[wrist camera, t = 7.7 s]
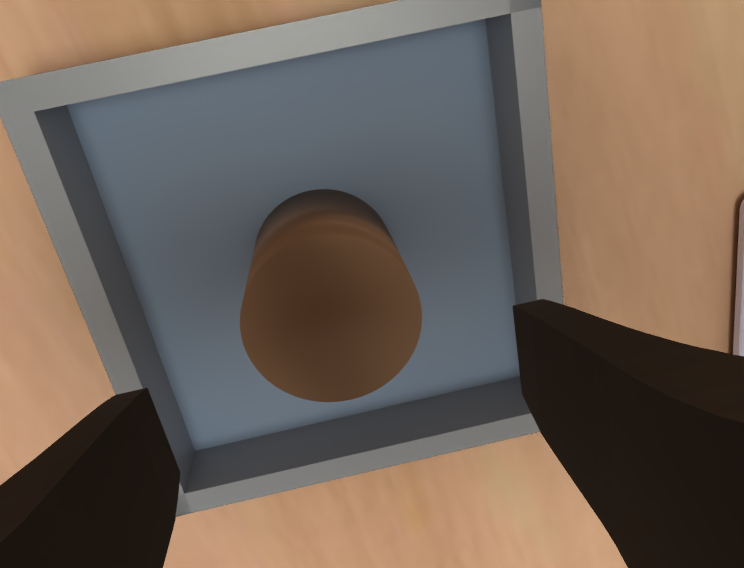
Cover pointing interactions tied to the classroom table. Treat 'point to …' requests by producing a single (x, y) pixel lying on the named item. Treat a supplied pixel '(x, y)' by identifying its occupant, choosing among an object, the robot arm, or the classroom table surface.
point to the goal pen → (278, 183)
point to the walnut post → (328, 299)
